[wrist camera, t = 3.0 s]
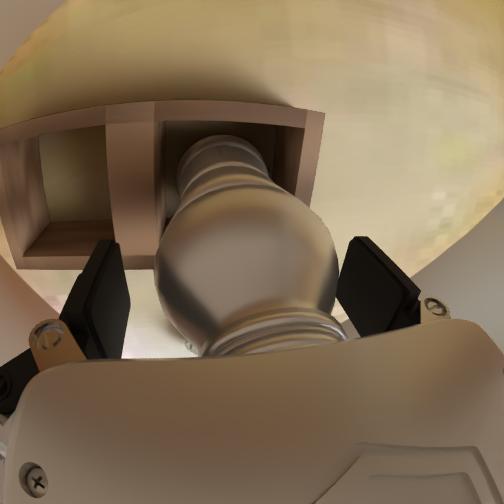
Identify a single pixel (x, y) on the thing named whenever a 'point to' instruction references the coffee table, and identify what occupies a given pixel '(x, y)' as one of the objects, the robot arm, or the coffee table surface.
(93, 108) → the bottle rack
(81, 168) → the coffee table surface
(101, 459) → the robot arm
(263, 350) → the plastic bottle
